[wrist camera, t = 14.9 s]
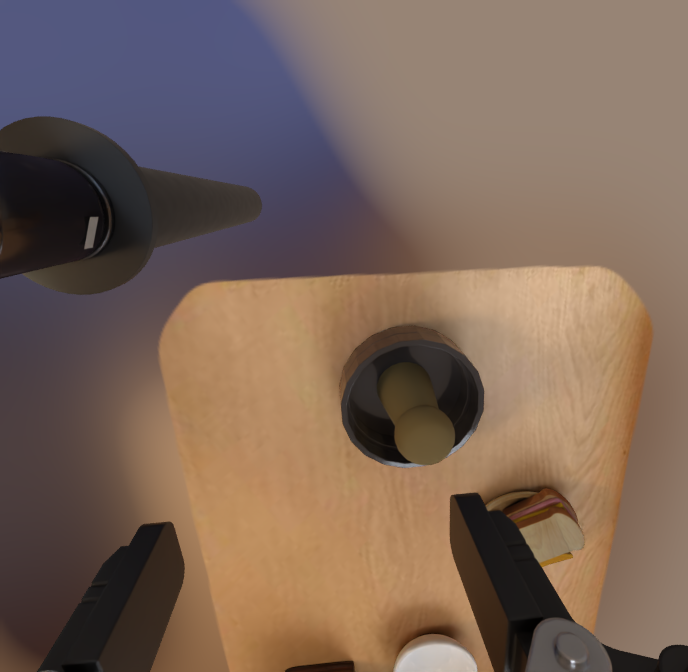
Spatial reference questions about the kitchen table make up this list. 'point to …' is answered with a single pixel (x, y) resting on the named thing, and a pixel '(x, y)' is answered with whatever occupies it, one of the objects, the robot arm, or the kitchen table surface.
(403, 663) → the spoon rest
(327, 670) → the dark brown coffee grinder
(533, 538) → the toy sandwich meal
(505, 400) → the kitchen table surface
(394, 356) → the dark grey bowl
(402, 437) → the cork
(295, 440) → the kitchen table surface
